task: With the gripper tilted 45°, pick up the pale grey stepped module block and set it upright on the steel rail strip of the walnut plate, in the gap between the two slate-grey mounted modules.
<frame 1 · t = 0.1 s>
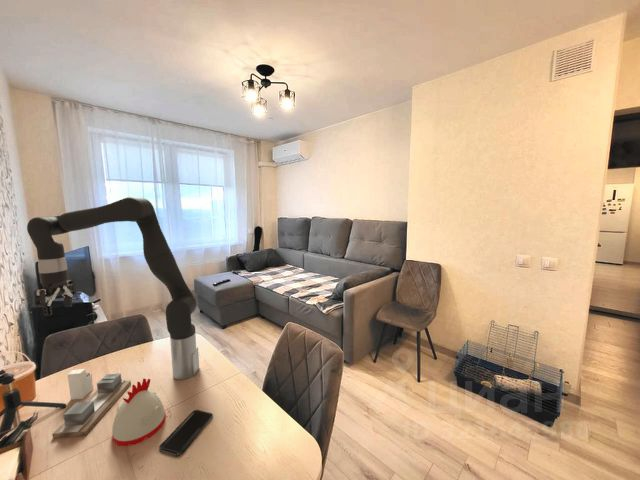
hand: (59, 310, 99), 29 cm above the table, tool pointing down, fingers open, 8 cm apart
kitchen timer: (140, 426, 83), on the table
phone: (188, 433, 81), on the table
rail plate: (97, 407, 90), on the table
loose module: (82, 394, 96), on the table
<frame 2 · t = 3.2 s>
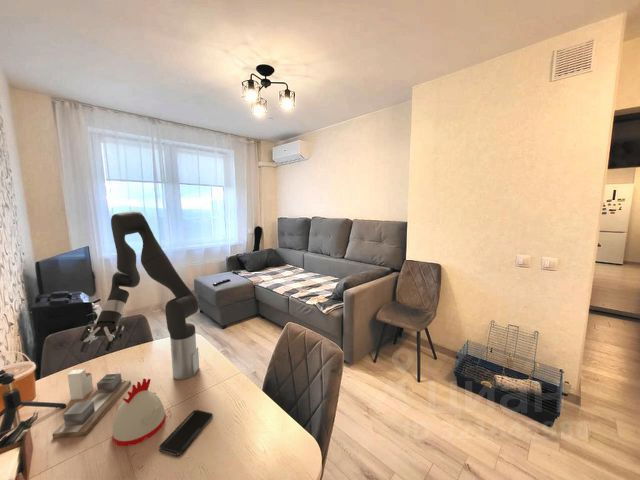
hand: (95, 352, 102), 12 cm above the table, tool tilted 45°, fingers open, 8 cm apart
nothing on the table moved.
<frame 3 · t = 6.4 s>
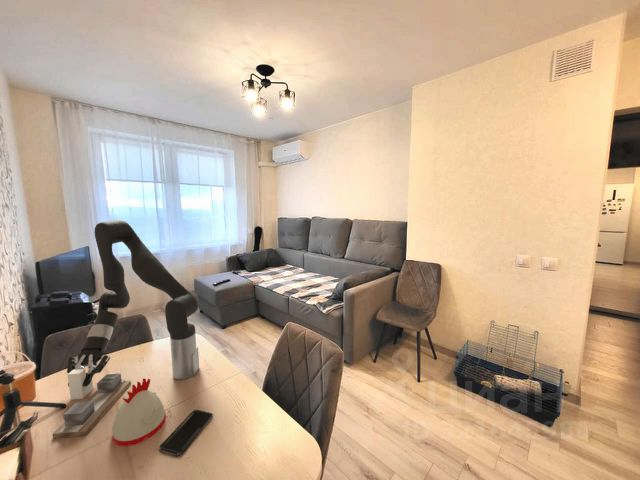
hand: (77, 386, 94), 4 cm above the table, tool tilted 45°, fingers closed on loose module, 4 cm apart
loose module: (82, 394, 96), on the table, touching gripper
everything else where it was.
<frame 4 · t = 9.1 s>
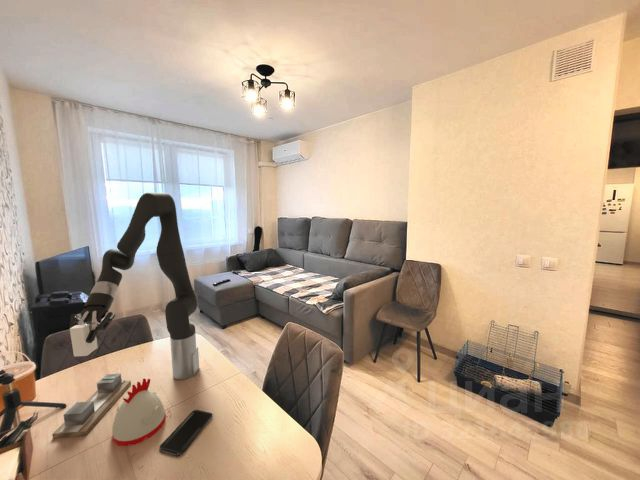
hand: (81, 342, 88), 23 cm above the table, tool tilted 45°, fingers closed on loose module, 4 cm apart
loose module: (86, 352, 90), point 19 cm above the table, touching gripper
everything else where it was.
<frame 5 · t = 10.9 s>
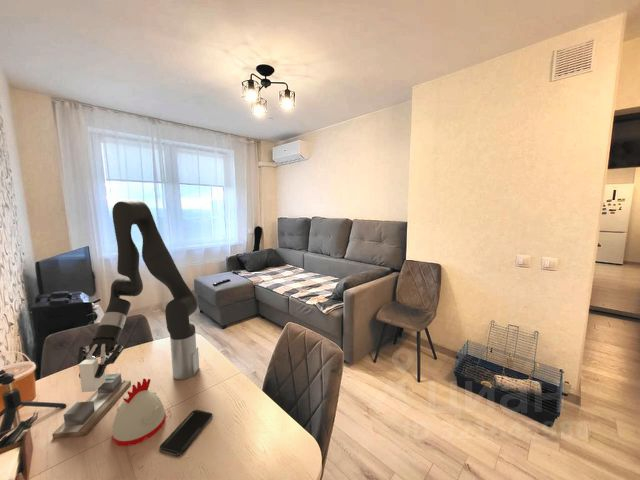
hand: (89, 377, 87), 12 cm above the table, tool tilted 45°, fingers closed on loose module, 4 cm apart
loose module: (94, 386, 89), point 8 cm above the table, touching gripper
everything else where it was.
when the fingers open (7 cm above the table, at t = 12.2 s): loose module stays where it is, resting on rail plate.
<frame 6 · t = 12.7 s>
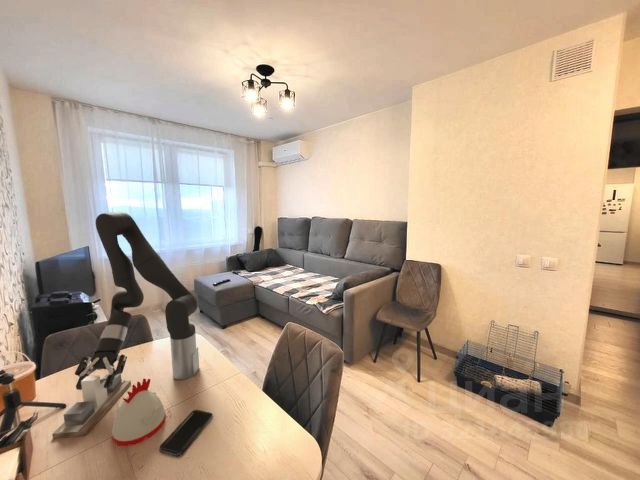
hand: (92, 388, 88), 8 cm above the table, tool tilted 45°, fingers open, 8 cm apart
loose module: (96, 402, 89), point 2 cm above the table, touching rail plate
everything else where it was.
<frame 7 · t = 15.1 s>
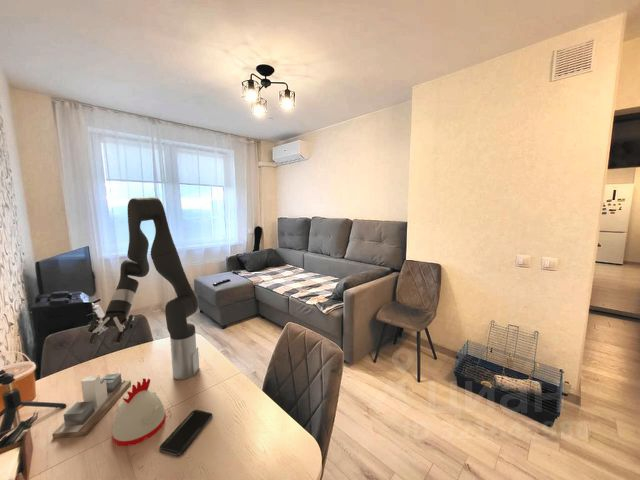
hand: (104, 343, 96), 18 cm above the table, tool tilted 45°, fingers open, 8 cm apart
nothing on the table moved.
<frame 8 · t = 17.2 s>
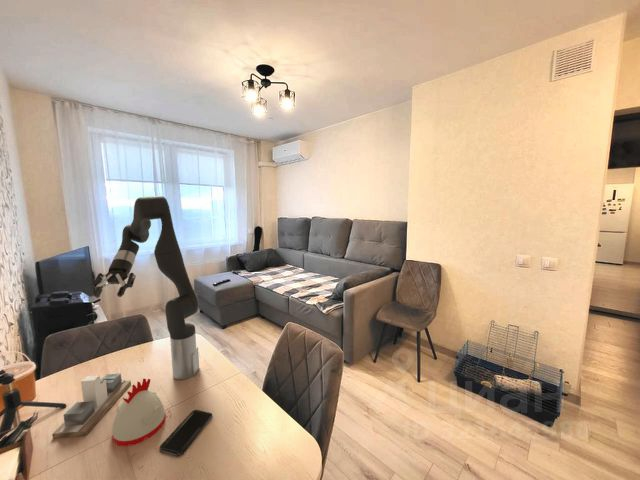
hand: (107, 296, 105), 33 cm above the table, tool tilted 45°, fingers open, 8 cm apart
nothing on the table moved.
at the end: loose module 0.1 cm from the target spot, point 2.0 cm above the table; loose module tilted 0°; the gripper is holding nothing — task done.
